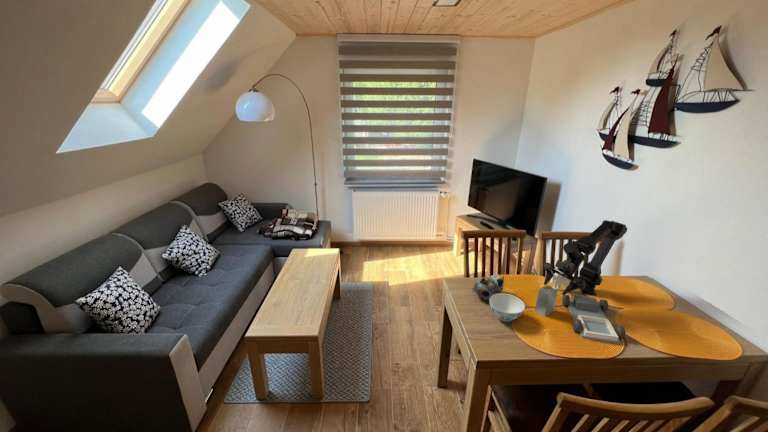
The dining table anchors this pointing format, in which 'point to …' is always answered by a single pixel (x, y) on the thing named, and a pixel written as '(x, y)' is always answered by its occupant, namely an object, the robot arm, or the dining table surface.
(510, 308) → the chinaware
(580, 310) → the chassis
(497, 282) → the grey lumpy piece
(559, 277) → the hat wearing toy figure
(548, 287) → the grey plastic box
